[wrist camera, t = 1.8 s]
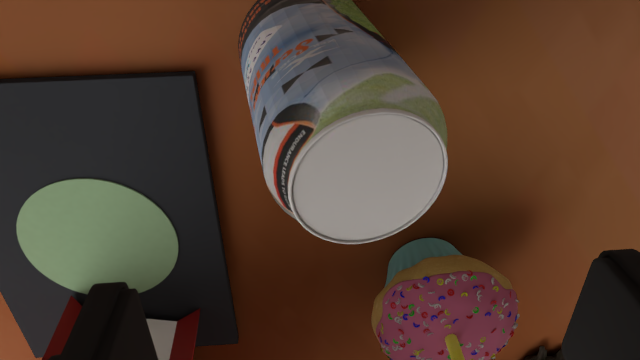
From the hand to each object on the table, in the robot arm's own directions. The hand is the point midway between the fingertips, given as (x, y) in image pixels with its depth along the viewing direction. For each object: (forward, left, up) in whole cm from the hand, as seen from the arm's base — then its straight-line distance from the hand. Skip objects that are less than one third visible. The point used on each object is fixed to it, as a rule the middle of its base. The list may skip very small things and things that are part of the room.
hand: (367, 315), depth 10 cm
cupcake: (+15, +7, -17) cm, 23 cm away
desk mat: (+11, -13, -17) cm, 24 cm away
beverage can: (0, 0, -17) cm, 17 cm away
